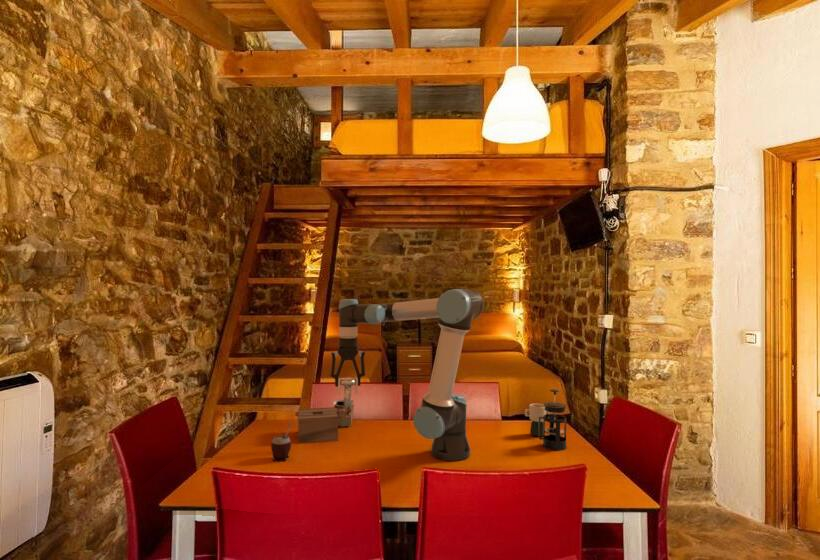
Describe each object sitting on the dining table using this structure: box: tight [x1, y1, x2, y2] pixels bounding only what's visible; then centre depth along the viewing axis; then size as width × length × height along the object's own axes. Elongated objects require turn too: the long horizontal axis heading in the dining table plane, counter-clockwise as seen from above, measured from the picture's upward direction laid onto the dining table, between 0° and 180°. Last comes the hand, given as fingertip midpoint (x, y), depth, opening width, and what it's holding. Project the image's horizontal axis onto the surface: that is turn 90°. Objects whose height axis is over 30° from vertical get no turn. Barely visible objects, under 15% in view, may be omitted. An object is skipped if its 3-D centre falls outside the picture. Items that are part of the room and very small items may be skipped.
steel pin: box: [340, 377, 356, 409], centre depth 194 cm, size 6×6×12 cm
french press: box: [538, 388, 568, 451], centre depth 196 cm, size 12×9×23 cm
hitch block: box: [297, 406, 339, 444], centre depth 206 cm, size 16×16×10 cm
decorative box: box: [332, 399, 355, 428], centre depth 228 cm, size 13×20×10 cm, turn 177°
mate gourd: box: [270, 418, 298, 463], centre depth 179 cm, size 8×8×15 cm
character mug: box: [524, 403, 552, 437], centre depth 211 cm, size 11×7×13 cm, turn 80°
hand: (347, 394), depth 194 cm, fingers closed on steel pin, 6 cm apart
